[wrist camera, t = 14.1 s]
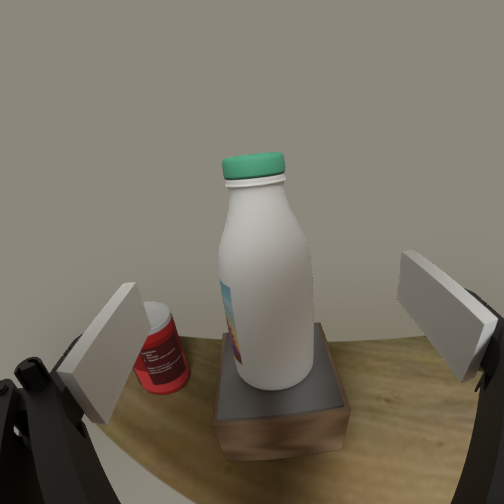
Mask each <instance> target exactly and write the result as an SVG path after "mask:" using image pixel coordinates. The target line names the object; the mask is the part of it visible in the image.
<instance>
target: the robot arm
mask: <svg viewBox="0 0 504 504" xmlns="http://www.w3.org/2000/svg"><path fill="white" fill-rule="evenodd" d="M397 300H398V302H399V303H400V304H401V305H402V306H403V308H404V309H405V310H406V311H407V313H408V314H409V315H410V316H411V318H412V319H413V320H414V321H415V323H416V324H417V325H418V326H419V328H420V329H421V330H422V331H423V333H424V334H425V335H426V337H427V338H428V339H429V341H430V342H431V343H432V344H433V346H434V347H435V348H436V350H437V351H438V352H439V354H440V355H441V356H442V358H443V359H444V361H445V362H446V363H447V365H448V366H449V367H450V369H451V370H452V372H453V373H454V374H455V376H456V377H457V379H458V380H459V382H460V383H463V382H465V381H468V380H470V379H472V378H474V377H475V375H476V373H477V371H478V369H479V367H480V366H481V367H482V368H483V370H484V372H483V374H482V376H481V378H480V381H479V382H478V384H477V386H476V389H475V391H474V392H477V390H478V388H479V387H480V393H479V400H478V407H477V413H476V418H475V423H474V428H473V433H472V437H471V442H470V446H469V450H468V453H467V457H466V461H465V464H464V467H463V471H462V474H461V477H460V480H459V483H458V486H457V488H456V491H455V494H454V497H453V499H452V502H451V504H504V318H502V317H501V316H500V315H499V314H498V313H497V312H496V311H495V310H493V309H492V308H491V307H490V306H489V305H487V303H486V302H484V301H483V300H481V298H480V297H479V296H477V295H476V294H475V293H473V292H471V291H469V290H467V289H465V288H463V287H461V286H460V285H459V284H458V283H457V282H455V281H454V280H453V279H451V278H450V277H449V276H448V275H446V274H445V273H444V272H443V271H442V270H440V269H439V268H438V267H436V266H435V265H434V264H433V263H431V262H430V261H429V260H427V259H426V258H425V257H423V256H422V255H421V254H419V253H418V252H417V251H415V250H406V251H402V252H401V263H400V274H399V284H398V292H397ZM150 330H151V325H150V322H149V319H148V316H147V314H146V311H145V308H144V305H143V301H142V298H141V295H140V292H139V289H138V286H137V283H136V282H132V283H123V284H122V286H121V287H120V288H119V289H118V290H117V292H116V293H115V294H114V295H113V296H112V298H111V299H110V300H109V301H108V303H107V304H106V305H105V307H104V308H103V309H102V310H101V311H100V313H99V314H98V315H97V316H96V318H95V319H94V320H93V322H92V323H91V324H90V326H89V327H88V328H87V330H86V331H85V332H84V333H83V334H81V335H80V336H79V337H77V338H76V339H75V340H74V341H73V342H72V343H71V345H70V346H69V347H68V350H66V352H65V353H64V356H62V357H61V358H60V360H59V361H58V362H57V364H56V365H55V366H54V368H53V369H52V371H51V372H50V374H49V372H48V371H47V369H46V367H45V366H44V364H43V362H42V361H41V359H40V358H38V357H30V358H27V359H25V360H24V361H22V362H21V363H20V364H19V365H18V366H17V367H16V369H15V372H14V374H15V376H16V377H17V379H18V380H19V382H20V383H21V385H22V386H23V388H18V389H17V387H16V386H15V384H14V383H13V381H12V380H10V379H4V380H1V381H0V504H121V503H120V501H119V500H118V498H117V496H116V494H115V492H114V490H113V488H112V486H111V484H110V483H109V480H108V478H107V476H106V474H105V472H104V470H103V468H102V466H101V463H100V461H99V459H98V456H97V454H96V452H95V449H94V447H93V444H92V442H91V439H90V437H89V434H88V431H87V428H86V426H85V424H84V422H83V421H82V420H81V419H82V417H83V415H84V413H85V415H86V416H87V417H88V418H89V420H90V421H91V422H92V423H97V424H102V425H108V423H109V420H110V418H111V415H112V413H113V411H114V408H115V406H116V404H117V401H118V399H119V397H120V395H121V392H122V390H123V388H124V385H125V383H126V381H127V379H128V377H129V374H130V372H131V370H132V368H133V366H134V364H135V361H136V359H137V357H138V355H139V353H140V351H141V349H142V347H143V344H144V342H145V340H146V338H147V336H148V334H149V332H150ZM14 426H15V427H16V428H17V429H18V430H19V435H18V436H17V435H16V434H15V433H14Z"/></svg>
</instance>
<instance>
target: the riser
mask: <svg viewBox="0 0 504 504" xmlns="http://www.w3.org/2000/svg"><path fill="white" fill-rule="evenodd" d="M349 415H350V407H349V404H348V401H347V398H346V395H345V392H344V389H343V386H342V383H341V380H340V377H339V374H338V371H337V368H336V365H335V363H334V360H333V357H332V354H331V351H330V348H329V346H328V343H327V340H326V337H325V334H324V332H323V329H322V326H321V323H314V357H313V366H312V369H311V371H310V372H309V374H308V375H307V376H306V378H305V379H303V380H302V381H301V382H300V383H298V384H296V385H295V386H292V387H290V388H287V389H283V390H275V391H269V390H262V389H257V388H255V387H253V386H251V385H249V384H248V383H246V382H245V381H244V380H243V379H242V378H241V377H240V375H239V373H238V371H237V367H236V363H235V359H234V354H233V350H232V345H231V340H230V335H229V333H223V338H222V345H221V353H220V361H219V369H218V377H217V385H216V393H215V401H214V409H213V418H212V427H213V430H214V432H215V435H216V437H217V439H218V442H219V444H220V446H221V448H222V451H223V453H224V455H225V457H226V459H227V462H237V461H259V460H272V459H283V458H292V457H299V456H306V455H313V454H319V453H325V452H330V451H335V450H340V449H342V445H343V441H344V437H345V433H346V429H347V424H348V420H349Z"/></svg>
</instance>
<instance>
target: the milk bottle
mask: <svg viewBox="0 0 504 504" xmlns="http://www.w3.org/2000/svg"><path fill="white" fill-rule="evenodd" d="M222 168H223V175H224V178H225V187H227V188H228V189H229V209H228V215H227V220H226V224H225V228H224V231H223V234H222V238H221V242H220V247H219V254H218V265H219V266H218V268H219V277H220V285H221V292H222V297H223V303H224V308H225V314H226V319H227V325H228V330H229V335H230V340H231V345H232V350H233V354H234V359H235V363H236V367H237V371H238V373H239V375H240V377H241V378H242V379H243V380H244V381H245V382H246V383H248V384H249V385H251V386H253V387H255V388H257V389H262V390H269V391H275V390H283V389H287V388H290V387H292V386H295V385H296V384H298V383H300V382H301V381H302V380H303V379H305V378H306V376H307V375H308V374H309V372H310V371H311V369H312V366H313V357H314V305H313V277H312V264H311V256H310V251H309V247H308V244H307V241H306V238H305V236H304V233H303V232H302V230H301V228H300V226H299V224H298V222H297V220H296V219H295V217H294V215H293V213H292V211H291V209H290V206H289V204H288V201H287V198H286V195H285V192H284V185H283V184H284V181H285V180H286V178H285V173H284V172H285V162H284V156H283V154H282V153H280V152H269V153H258V154H250V155H242V156H234V157H229V158H225V159H224V160H223V161H222Z"/></svg>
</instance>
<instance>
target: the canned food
mask: <svg viewBox="0 0 504 504" xmlns="http://www.w3.org/2000/svg"><path fill="white" fill-rule="evenodd" d="M143 305H144V308H145V311H146V314H147V316H148V319H149V322H150V325H151V330H150V332H149V334H148V336H147V338H146V340H145V342H144V344H143V347H142V349H141V351H140V353H139V355H138V357H137V359H136V361H135V364H134V366H133V370H134V372H135V374H136V376H137V378H138V380H139V382H140V384H141V385H142V386H143V387H144V388H145V389H146V390H147V391H149V392H150V393H153V394H157V395H165V394H170V393H174V392H176V391H178V390H179V389H181V388H182V387H183V386H184V385H185V384H186V383H187V381H188V379H189V367H188V364H187V361H186V358H185V355H184V352H183V349H182V346H181V342H180V339H179V336H178V333H177V330H176V326H175V323H174V320H173V317H172V314H171V311H170V309H169V307H168V306H167V305H165V304H163V303H160V302H143Z"/></svg>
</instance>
